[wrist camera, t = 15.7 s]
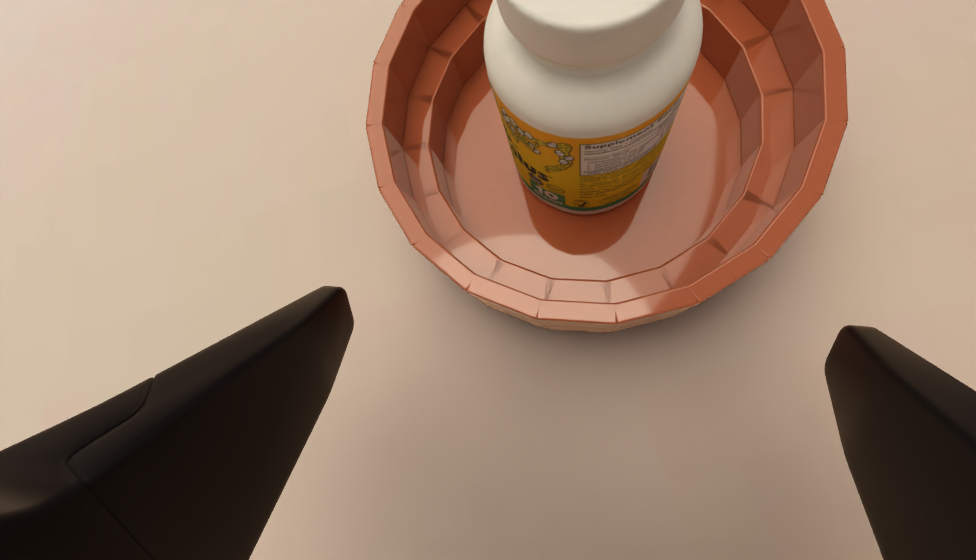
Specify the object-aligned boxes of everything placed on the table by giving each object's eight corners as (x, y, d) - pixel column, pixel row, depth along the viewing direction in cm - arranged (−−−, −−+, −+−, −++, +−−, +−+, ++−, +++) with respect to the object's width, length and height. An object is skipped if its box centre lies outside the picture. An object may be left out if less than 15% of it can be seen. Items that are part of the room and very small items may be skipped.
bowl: (833, 37, 18) (913, -65, 14) (705, 394, 17) (750, 404, 13) (488, -42, 22) (466, -145, 17) (358, 255, 20) (299, 225, 16)
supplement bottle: (680, 185, 18) (797, -10, 9) (542, 238, 18) (509, 110, 9) (624, 63, 19) (671, -226, 10) (495, 117, 20) (423, -108, 10)
